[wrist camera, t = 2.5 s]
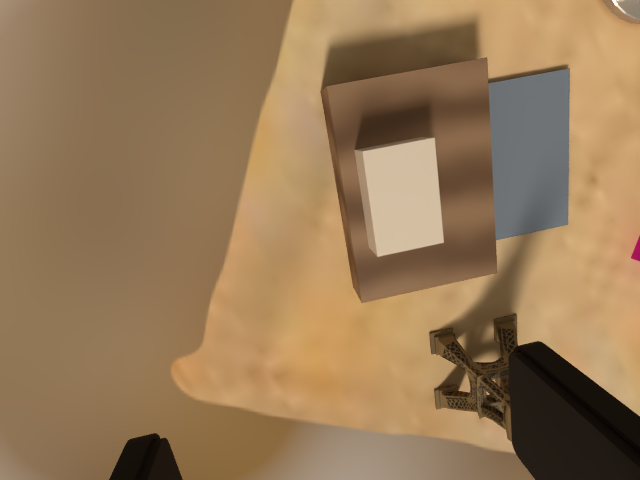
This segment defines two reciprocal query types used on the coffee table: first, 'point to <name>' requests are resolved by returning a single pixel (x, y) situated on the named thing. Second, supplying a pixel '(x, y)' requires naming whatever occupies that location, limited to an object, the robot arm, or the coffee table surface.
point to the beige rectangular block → (400, 195)
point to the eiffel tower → (479, 375)
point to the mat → (530, 152)
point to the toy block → (636, 251)
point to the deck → (452, 164)
